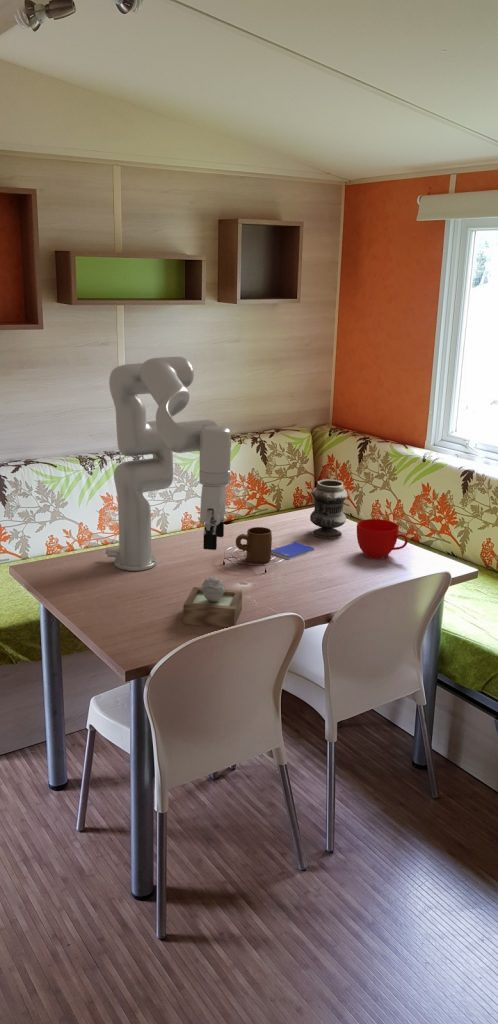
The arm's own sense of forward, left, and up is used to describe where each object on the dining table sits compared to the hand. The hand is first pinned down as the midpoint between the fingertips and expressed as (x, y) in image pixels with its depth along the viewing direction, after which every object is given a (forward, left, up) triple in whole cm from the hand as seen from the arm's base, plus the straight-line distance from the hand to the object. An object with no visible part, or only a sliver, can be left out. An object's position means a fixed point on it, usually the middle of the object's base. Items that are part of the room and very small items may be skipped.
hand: (213, 542), depth 212 cm
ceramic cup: (+43, +55, -20) cm, 73 cm away
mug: (+4, +43, -20) cm, 48 cm away
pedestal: (0, 0, -20) cm, 20 cm away
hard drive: (+15, +54, -21) cm, 59 cm away
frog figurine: (0, 0, -16) cm, 16 cm away
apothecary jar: (+25, +74, -20) cm, 81 cm away
